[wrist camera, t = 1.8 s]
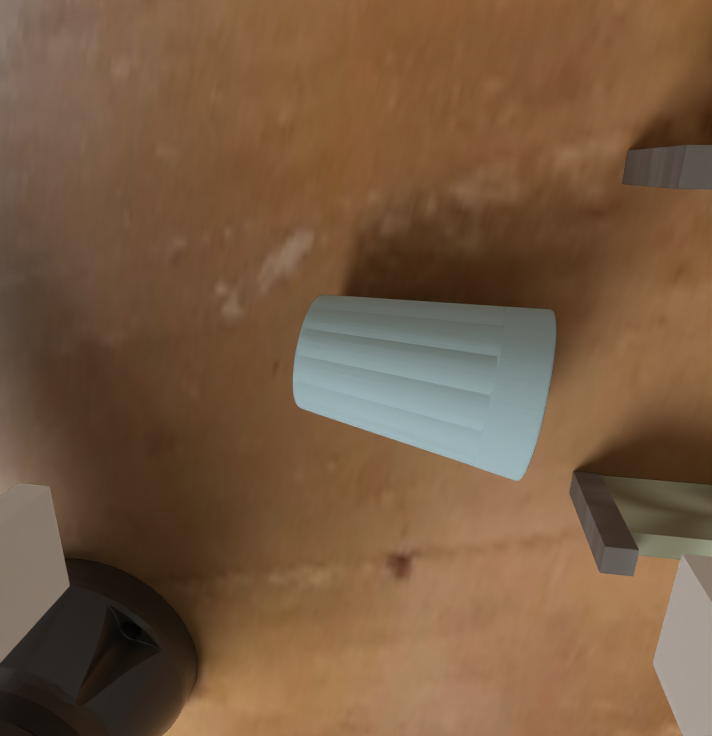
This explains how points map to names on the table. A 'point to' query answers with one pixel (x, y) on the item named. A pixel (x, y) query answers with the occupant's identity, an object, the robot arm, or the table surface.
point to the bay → (643, 496)
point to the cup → (431, 374)
